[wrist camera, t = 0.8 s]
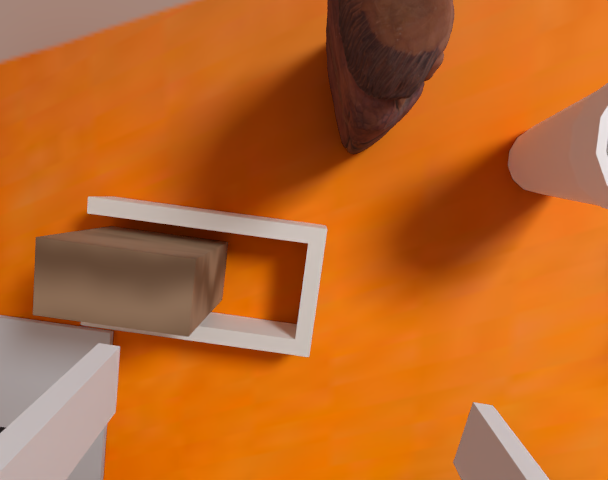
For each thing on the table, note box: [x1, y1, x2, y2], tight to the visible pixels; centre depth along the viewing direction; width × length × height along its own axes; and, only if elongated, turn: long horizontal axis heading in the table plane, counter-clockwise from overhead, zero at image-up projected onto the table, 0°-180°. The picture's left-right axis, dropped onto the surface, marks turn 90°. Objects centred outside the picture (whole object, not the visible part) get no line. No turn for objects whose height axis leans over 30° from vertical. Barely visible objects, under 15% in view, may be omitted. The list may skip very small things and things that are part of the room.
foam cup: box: [508, 83, 608, 209], centre depth 28 cm, size 10×9×13 cm
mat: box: [0, 315, 114, 480], centre depth 39 cm, size 20×14×1 cm
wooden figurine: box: [326, 0, 454, 154], centre depth 25 cm, size 12×6×18 cm, turn 10°
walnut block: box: [33, 226, 228, 337], centre depth 32 cm, size 6×12×10 cm, turn 82°
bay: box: [81, 197, 327, 357], centre depth 35 cm, size 12×22×4 cm, turn 82°
